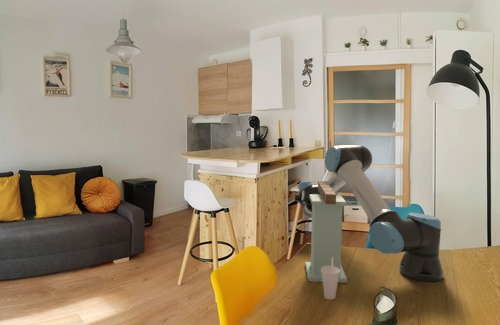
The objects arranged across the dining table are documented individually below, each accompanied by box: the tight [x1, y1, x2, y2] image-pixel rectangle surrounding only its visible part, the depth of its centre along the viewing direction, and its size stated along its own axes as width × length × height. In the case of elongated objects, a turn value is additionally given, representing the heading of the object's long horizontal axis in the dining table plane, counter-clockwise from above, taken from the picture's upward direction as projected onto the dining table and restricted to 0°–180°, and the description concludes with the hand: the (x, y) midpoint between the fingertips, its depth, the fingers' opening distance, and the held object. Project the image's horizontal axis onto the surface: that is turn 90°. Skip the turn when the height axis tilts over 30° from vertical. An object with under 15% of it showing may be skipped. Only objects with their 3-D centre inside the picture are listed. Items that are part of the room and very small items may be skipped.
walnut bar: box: [317, 180, 336, 204], centre depth 132 cm, size 26×4×4 cm, turn 175°
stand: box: [305, 194, 348, 284], centre depth 131 cm, size 14×14×30 cm
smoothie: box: [321, 257, 340, 300], centre depth 115 cm, size 6×6×14 cm
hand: (318, 193), depth 155 cm, fingers open, 13 cm apart
